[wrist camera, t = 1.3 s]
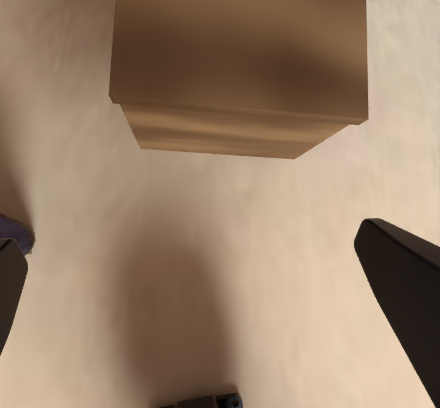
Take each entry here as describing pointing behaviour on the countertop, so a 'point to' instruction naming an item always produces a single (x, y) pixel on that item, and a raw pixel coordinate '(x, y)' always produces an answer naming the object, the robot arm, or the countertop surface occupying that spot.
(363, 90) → the recipe box
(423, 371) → the robot arm
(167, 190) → the countertop surface
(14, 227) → the flask
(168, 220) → the countertop surface
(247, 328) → the countertop surface
